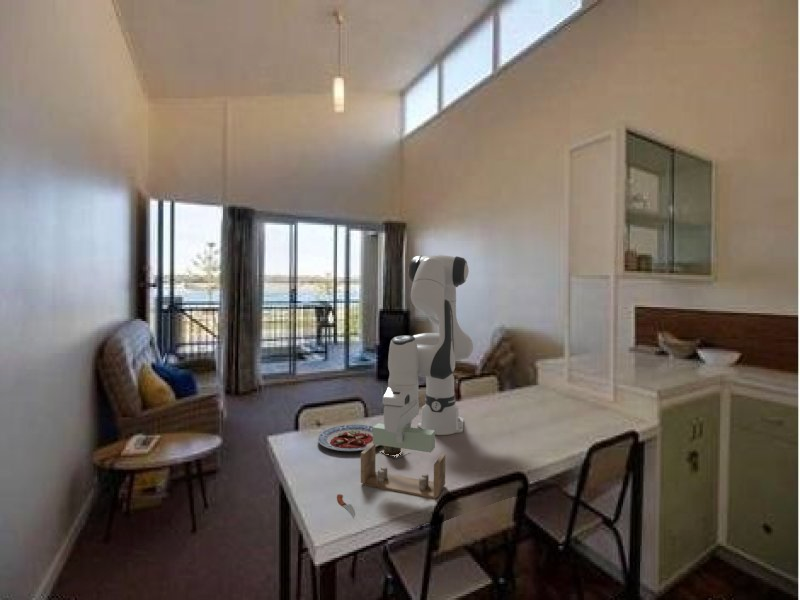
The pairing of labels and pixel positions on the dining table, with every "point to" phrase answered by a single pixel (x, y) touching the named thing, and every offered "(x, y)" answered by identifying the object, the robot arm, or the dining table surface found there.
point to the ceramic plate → (347, 437)
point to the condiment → (393, 451)
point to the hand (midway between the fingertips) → (403, 438)
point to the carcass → (398, 482)
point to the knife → (347, 507)
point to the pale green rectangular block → (405, 438)
